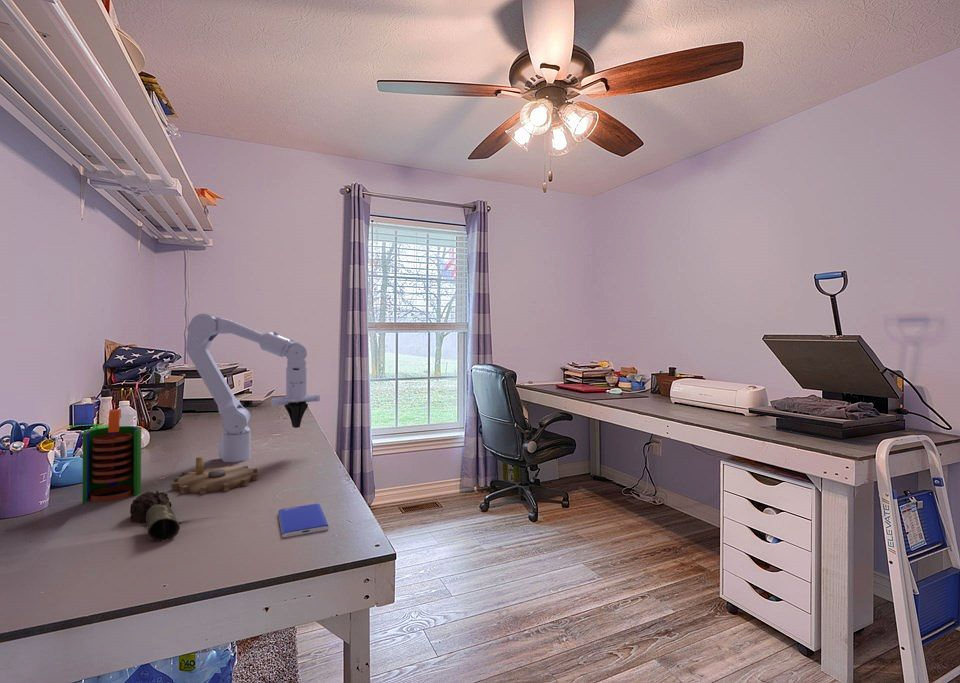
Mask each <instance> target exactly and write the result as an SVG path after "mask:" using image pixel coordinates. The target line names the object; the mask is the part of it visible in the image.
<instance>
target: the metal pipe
mask: <svg viewBox="0 0 960 683" xmlns="http://www.w3.org/2000/svg"><path fill="white" fill-rule="evenodd" d="M168 495H169V494H168V493H165V492H164V491H162V492H159V490H156V491H155V492H152V491H149V490H148V491H147V492H144V493H142V494H139V495H136V498H135V499H133V500H132V503H131V504H130V509H129V514H130V522H131V523H133V524H134V523H135V524H146V530H147V536H148V538H149V539H151V540H152V541H155V542H163V541H162V540H164V541H167V540H166V539H169V540H172V539H174V538H175V537H176V536H177V535H178V533H179V531H180V529H181V526H180V524H179V522H178V519H177V517H176V516H175V514H174V512H173V509H172V502H171V501H170V498H169V497H168ZM141 527H144V526H142V525H141ZM171 538H172V539H171Z"/></svg>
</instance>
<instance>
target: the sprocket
mask: <svg viewBox="0 0 960 683" xmlns="http://www.w3.org/2000/svg"><path fill="white" fill-rule="evenodd" d="M204 459H205V458H204V456H197V457H195V471H186V472H187V475H184V476H182V477H179V476H177V477H176V476H175V477H174V478H173V482H171V491H177V490H179V491H180V494H181V495H185V494H188V493H192V494H193V493H194V494H200V495H206V494H207V493H215V492H221V491H223V493H224V492H226V493H227V492H229V491H230V489H232V490H233V489H235V488H238V487H247V486H249V483H250V482H252V481H258V479H259V473H258V468H249V466H248V465H242V466H232V465H226V466H221V467H219V466H218V467H213V468H212V467H206V468H205V469H204Z"/></svg>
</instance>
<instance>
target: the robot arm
mask: <svg viewBox="0 0 960 683" xmlns="http://www.w3.org/2000/svg"><path fill="white" fill-rule="evenodd" d="M190 320H191V321H190V322H189V324H188V325H187V328H186V329H187V337H186V338H187V339H186V346H185V347H186V348H185V351H186V353H187V355H188V357H189V359H190V361H191V362H192V363H193V366H194V367H195V369H196V370H197V373H198V374H199V376H200V378H201V379H202V381H203V382H204V384H205V386H206V388H207V390H208V391H209V393H210V395H211V396H212V399H213V400H214V402H215V403H216V405H217V408H218V409H217V410H218V413H219V416H220V417H221V426H222V428H223V430H222V433H221V434H220V436H219V438H218V460H222V462H224V463H237V462H244V461H248V460H250V459H251V428H250V427H249V425H248V424H249V423H250V422H251V419H252V416H251V412H250V411H249V410H248V409H247V408H246V407H244V406H243V405H242V403H241V402H240V401H239V399H237V397H236V395H234V393H233V391H232V389H231V387H230V386H229V384H228V382H227V380H226V379H225V376H224V375H223V374H222V372H221V369H219V366H218V365H217V363H216V362H215V359H214V358H213V356H212V354H211V352H210V350H209V349H210V347H211V345H212V343H213V340H214V339H215V338H216V337H217V336H218V335H219V334H221V335H222V334H223V335H227V334H231V335H235V336H238V337H240V338H243V339H245V340H249V341H251V342H254V343H257V344H258V345H259V347H260V349H261V350H262V351H265V352H268V353H270V354H273V355H276V356H278V357H280V358H284V357H286V359H287V360H286V362H287V364H286V366H287V367H286V370H285V371H286V372H285V373H286V374H285V375H286V376H285V378H286V380H285V386H286V387H285V396H283V397H277V398H276V397H275V398H271V399H270V405H271V407H276V406H277V407H278V406H284V408H285V410H286V411H287V413H288V416H289V419H290V422H291V427H292V428H295V429H297V428H300V427H301V424H302V420H303V416H304V414H305V412H306V411H307V409H308V407H309V404H308V403H312V402H321V400H320V399H321V396H320V394H311V395H309V394H307V372H308V371H307V369H308V368H307V360H306V358H307V355H308V352H307V351H308V350H307V348H306V347H305V346H304V344H302V343H301V342H295V339H293V338H290V339H289V338H286V337H284V336H281V335H279V332H277V331H274V332H272V331H268V332H265V333H262V332H260V331H258V330H255V329H253V328H251V327H248V326H246V325H244V324H241V323H239V322H236V321H234V320H231V319H227V318H223V317H219V316H215V315H212V314H207V313H198V314H196V315H195V316H193V317H192V319H190Z"/></svg>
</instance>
